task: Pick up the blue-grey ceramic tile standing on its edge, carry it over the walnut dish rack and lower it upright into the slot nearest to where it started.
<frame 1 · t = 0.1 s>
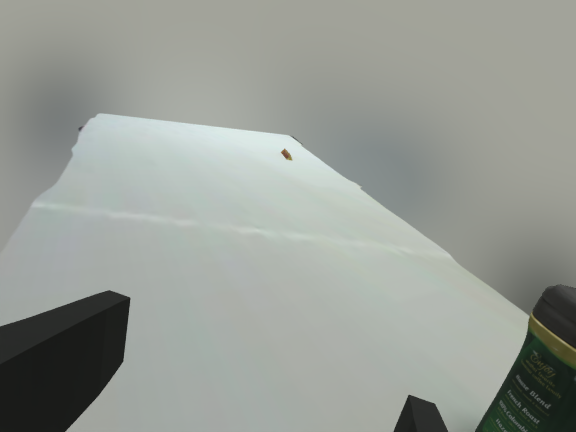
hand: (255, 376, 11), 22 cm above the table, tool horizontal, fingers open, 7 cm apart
pencil: (286, 158, 168), on the table
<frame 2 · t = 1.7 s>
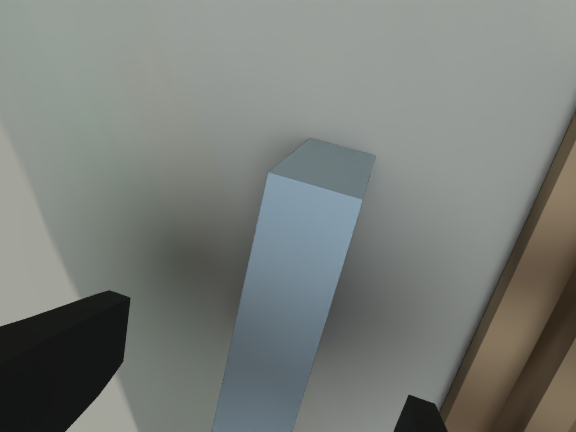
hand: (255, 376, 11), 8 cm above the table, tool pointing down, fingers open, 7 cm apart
tile: (314, 252, 19), on the table
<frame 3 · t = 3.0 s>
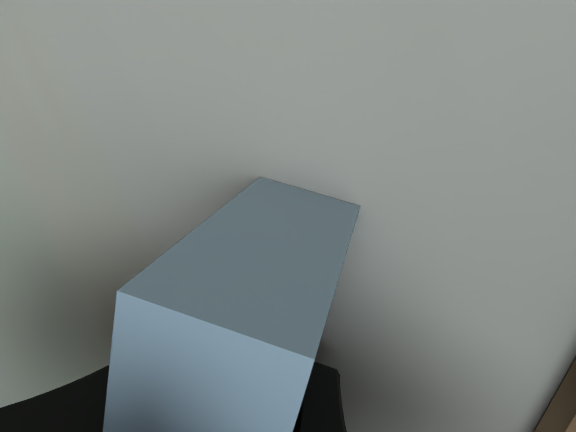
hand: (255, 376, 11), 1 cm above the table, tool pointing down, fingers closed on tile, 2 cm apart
tile: (270, 343, 12), on the table, touching gripper
when the fingers open (4 cm above the table, at t = 6.4 s): tile stays where it is, resting on rack.
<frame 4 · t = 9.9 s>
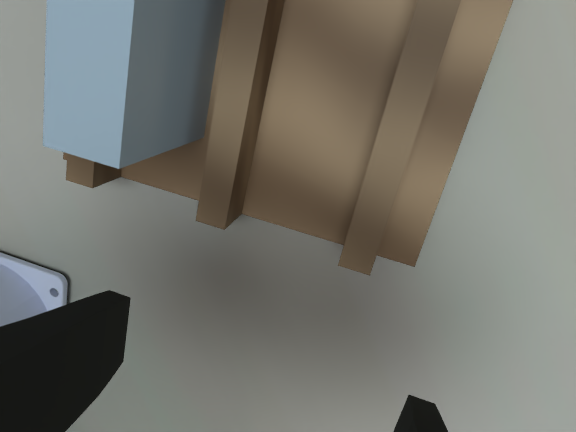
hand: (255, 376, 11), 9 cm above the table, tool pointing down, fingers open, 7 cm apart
rack: (271, 24, 17), on the table
tile: (191, 12, 17), point 1 cm above the table, touching rack
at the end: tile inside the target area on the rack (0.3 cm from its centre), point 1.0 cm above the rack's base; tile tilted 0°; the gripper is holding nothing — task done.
